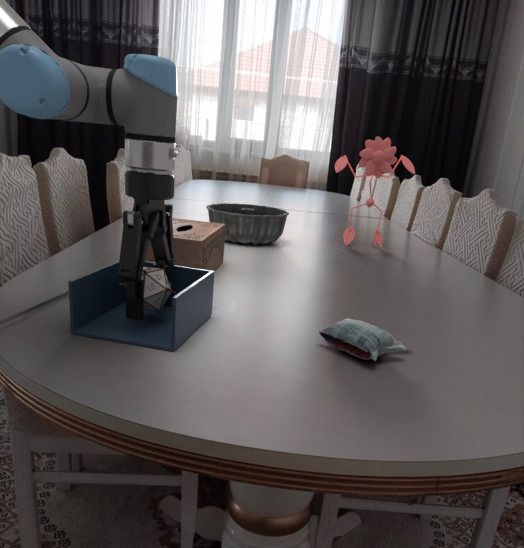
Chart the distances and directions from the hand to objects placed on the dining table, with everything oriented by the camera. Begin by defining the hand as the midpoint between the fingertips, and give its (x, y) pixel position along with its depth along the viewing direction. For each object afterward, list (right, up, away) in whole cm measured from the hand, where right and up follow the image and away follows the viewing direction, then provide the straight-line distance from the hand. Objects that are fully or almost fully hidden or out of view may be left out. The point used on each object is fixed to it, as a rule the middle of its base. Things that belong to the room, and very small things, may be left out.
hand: (148, 309), depth 88 cm
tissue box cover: (0, +12, +37) cm, 39 cm away
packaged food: (+36, -7, -2) cm, 36 cm away
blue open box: (+1, 0, +5) cm, 6 cm away
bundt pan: (+14, +29, +81) cm, 87 cm away
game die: (0, 0, 0) cm, 0 cm away
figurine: (+54, +27, +87) cm, 105 cm away
